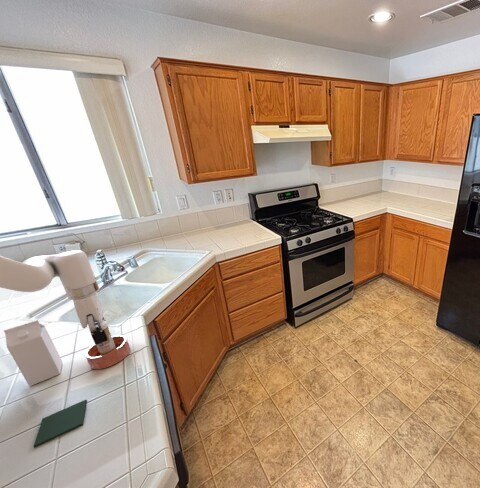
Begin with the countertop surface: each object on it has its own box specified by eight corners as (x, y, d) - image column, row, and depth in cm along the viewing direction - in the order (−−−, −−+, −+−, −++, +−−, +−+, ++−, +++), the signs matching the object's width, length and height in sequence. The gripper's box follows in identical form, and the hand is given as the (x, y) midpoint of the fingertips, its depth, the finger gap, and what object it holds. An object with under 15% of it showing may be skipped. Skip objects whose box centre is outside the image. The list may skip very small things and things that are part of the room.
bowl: (88, 376, 83) (83, 363, 82) (92, 356, 92) (87, 344, 90) (131, 359, 90) (126, 347, 88) (130, 342, 98) (126, 331, 97)
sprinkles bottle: (100, 363, 88) (86, 330, 83) (104, 354, 92) (90, 322, 87) (117, 358, 90) (104, 325, 85) (120, 350, 94) (107, 318, 89)
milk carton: (33, 373, 86) (6, 325, 80) (62, 362, 90) (39, 315, 84) (29, 386, 81) (0, 336, 74) (60, 374, 85) (35, 325, 79)
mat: (34, 448, 63) (33, 446, 63) (43, 420, 70) (42, 418, 70) (83, 424, 68) (82, 423, 67) (87, 400, 75) (86, 399, 74)
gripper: (71, 283, 87) (90, 328, 93) (61, 305, 73) (85, 356, 79) (100, 276, 91) (116, 320, 97) (95, 295, 77) (115, 345, 83)
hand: (102, 336), depth 88 cm, fingers open, 6 cm apart
